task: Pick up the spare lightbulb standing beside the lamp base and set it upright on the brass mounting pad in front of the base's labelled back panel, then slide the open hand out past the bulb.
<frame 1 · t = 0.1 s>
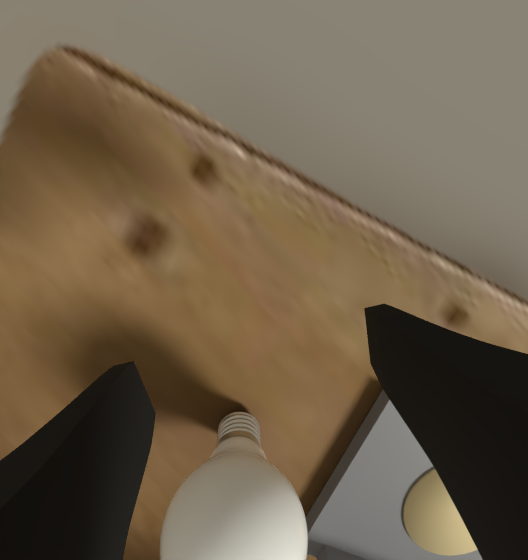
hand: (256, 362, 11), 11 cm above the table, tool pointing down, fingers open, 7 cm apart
lamp base: (428, 499, 25), on the table
lightbulb: (239, 421, 23), on the table
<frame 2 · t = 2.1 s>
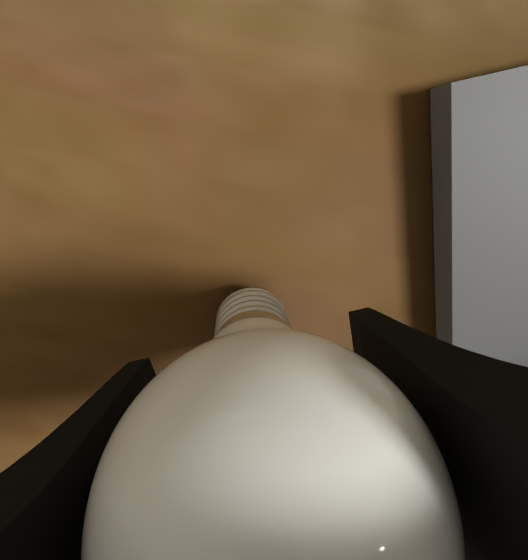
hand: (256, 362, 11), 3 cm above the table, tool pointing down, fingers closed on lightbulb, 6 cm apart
lightbulb: (250, 309, 14), on the table, touching gripper
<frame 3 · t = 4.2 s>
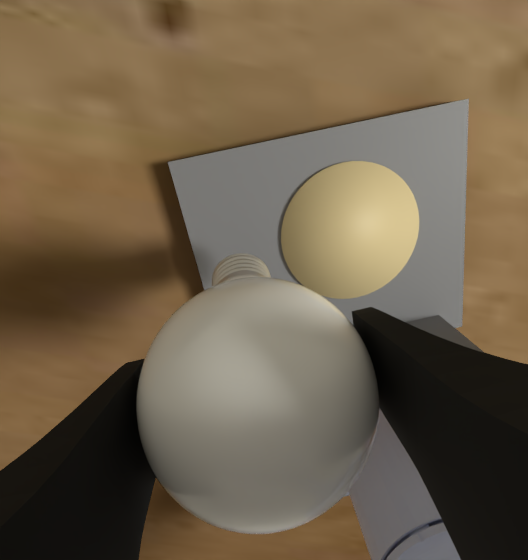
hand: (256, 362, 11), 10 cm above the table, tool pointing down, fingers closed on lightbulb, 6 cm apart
lamp base: (328, 248, 20), on the table
lightbulb: (240, 272, 17), point 4 cm above the table, touching gripper
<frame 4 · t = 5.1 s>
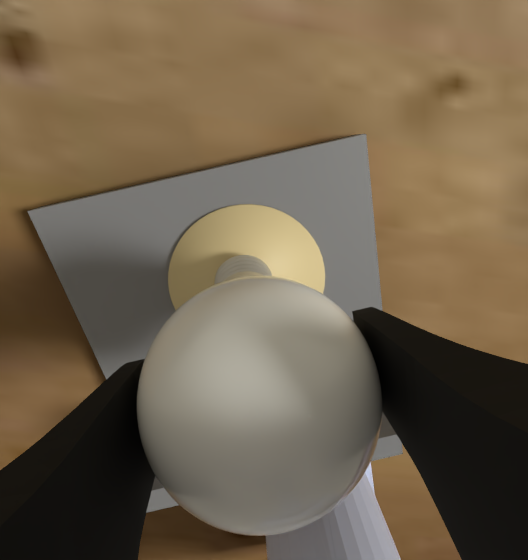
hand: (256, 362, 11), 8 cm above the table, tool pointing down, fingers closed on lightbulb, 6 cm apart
lamp base: (232, 295, 18), on the table
lightbulb: (242, 274, 17), point 1 cm above the table, touching gripper, lamp base
when the fingers open (6 cm above the table, at t = 6.1 s): lightbulb stays where it is, resting on lamp base.
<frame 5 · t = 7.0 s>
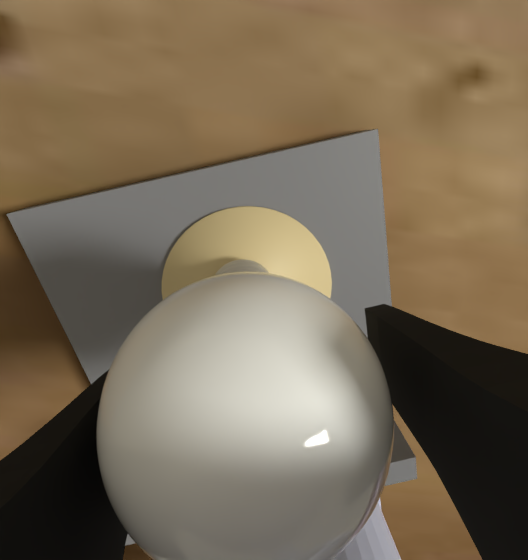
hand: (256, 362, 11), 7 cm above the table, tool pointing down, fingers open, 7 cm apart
lamp base: (232, 303, 17), on the table
lightbulb: (242, 281, 16), point 1 cm above the table, touching lamp base
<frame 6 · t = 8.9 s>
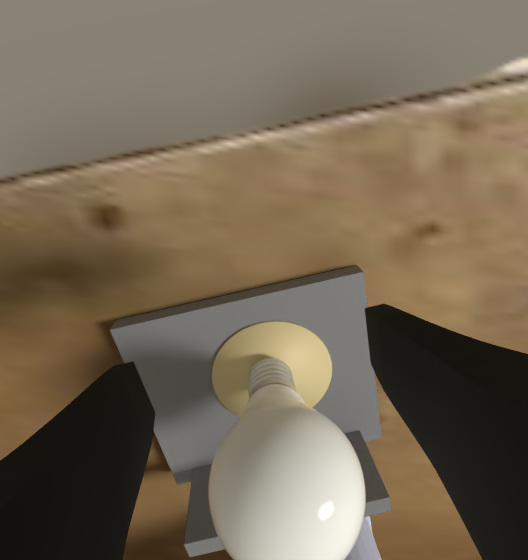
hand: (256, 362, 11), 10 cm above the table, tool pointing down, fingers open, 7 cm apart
lamp base: (259, 378, 23), on the table
lightbulb: (268, 368, 22), point 1 cm above the table, touching lamp base
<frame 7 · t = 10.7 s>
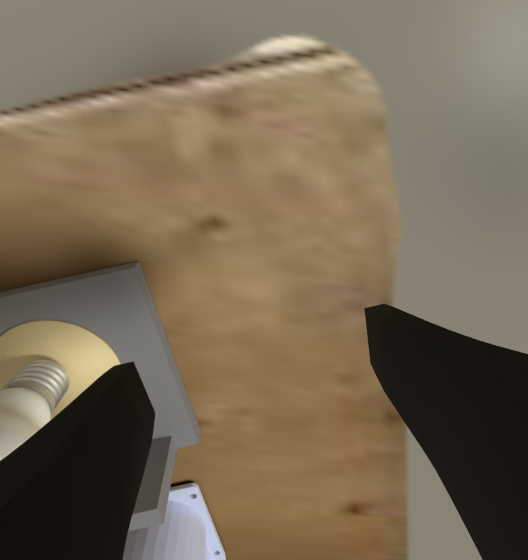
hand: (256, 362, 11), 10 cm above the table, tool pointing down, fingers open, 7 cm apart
lamp base: (58, 380, 22), on the table
lightbulb: (52, 370, 21), point 1 cm above the table, touching lamp base
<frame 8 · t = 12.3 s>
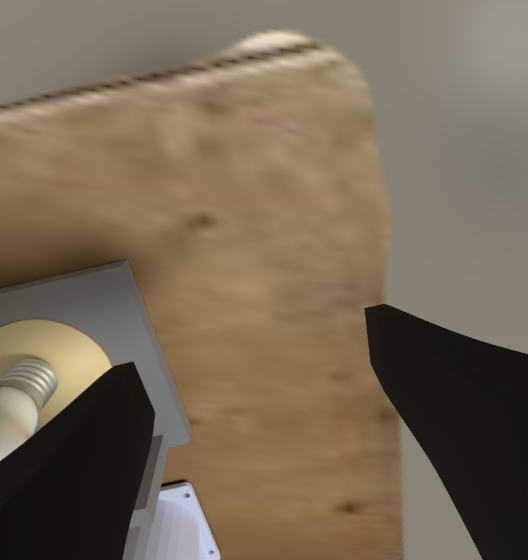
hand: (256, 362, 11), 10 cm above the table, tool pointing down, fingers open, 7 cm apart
lamp base: (48, 379, 22), on the table
lightbulb: (41, 369, 20), point 1 cm above the table, touching lamp base
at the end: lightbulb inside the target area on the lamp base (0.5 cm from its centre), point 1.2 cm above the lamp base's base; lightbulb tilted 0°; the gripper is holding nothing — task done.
